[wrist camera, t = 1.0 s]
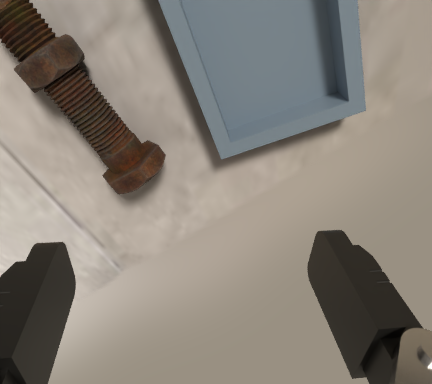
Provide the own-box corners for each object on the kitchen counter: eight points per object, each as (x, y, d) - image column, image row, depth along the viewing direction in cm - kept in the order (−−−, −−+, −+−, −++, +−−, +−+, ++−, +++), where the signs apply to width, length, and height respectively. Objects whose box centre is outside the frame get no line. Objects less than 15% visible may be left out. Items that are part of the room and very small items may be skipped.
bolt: (31, -11, 24) (152, 150, 31) (-31, 27, 23) (110, 184, 30) (31, -35, 19) (174, 162, 26) (-48, 11, 18) (125, 203, 25)
